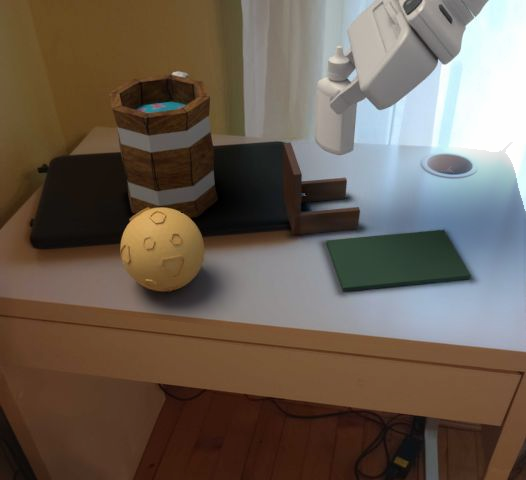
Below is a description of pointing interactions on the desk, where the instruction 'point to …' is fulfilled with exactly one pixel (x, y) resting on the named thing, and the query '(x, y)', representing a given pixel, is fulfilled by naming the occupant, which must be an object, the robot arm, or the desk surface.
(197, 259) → the stress ball
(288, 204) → the holder
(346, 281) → the mat
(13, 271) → the desk surface
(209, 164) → the mug
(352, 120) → the eye dropper bottle
